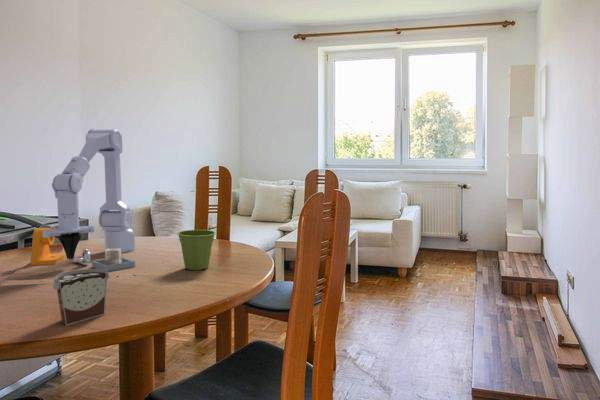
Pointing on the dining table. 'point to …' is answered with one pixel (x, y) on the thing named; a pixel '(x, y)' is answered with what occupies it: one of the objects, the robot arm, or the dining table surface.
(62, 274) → the food container
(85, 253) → the crank
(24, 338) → the dining table surface
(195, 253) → the plant pot
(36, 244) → the bracket
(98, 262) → the tray
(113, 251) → the block
